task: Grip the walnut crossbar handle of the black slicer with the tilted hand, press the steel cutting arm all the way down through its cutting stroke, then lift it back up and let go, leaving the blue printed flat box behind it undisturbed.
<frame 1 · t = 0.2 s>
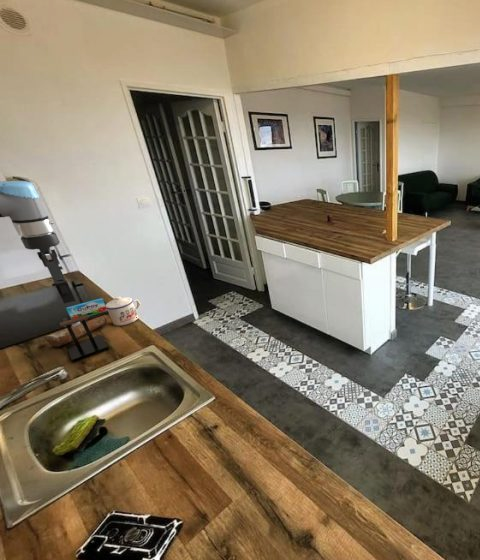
hand: (66, 295, 104), 25 cm above the countertop, tool pointing down, fingers open, 13 cm apart
blue printed flat box: (90, 315, 138), on the countertop
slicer: (88, 349, 117), on the countertop
slicer arm: (74, 321, 108), point 14 cm above the countertop, hinge at 26.0°
bread: (81, 335, 125), on the countertop
teacup with lid: (129, 319, 136), on the countertop
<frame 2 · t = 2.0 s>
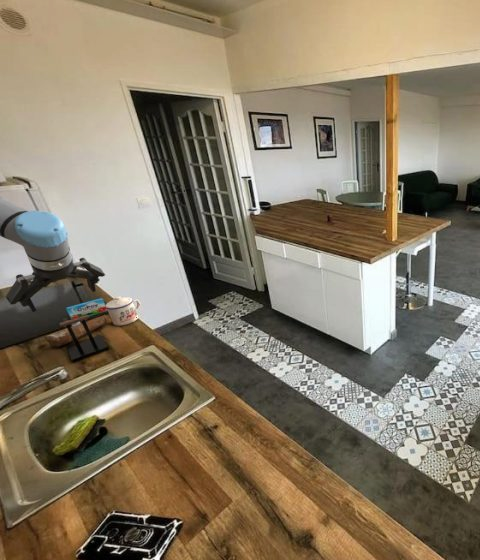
hand: (63, 297, 93), 29 cm above the countertop, tool tilted 40°, fingers open, 13 cm apart
nothing on the countertop moved.
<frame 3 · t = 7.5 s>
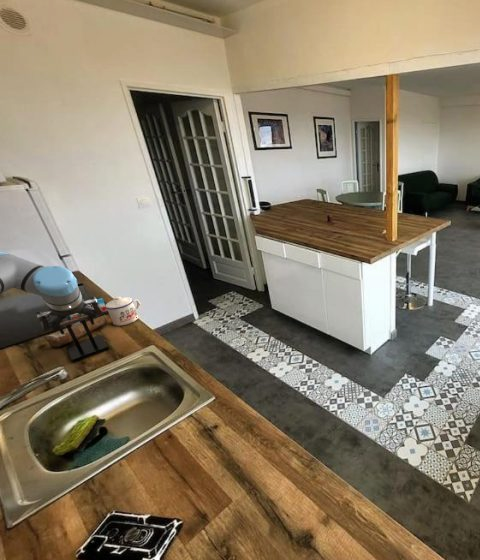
hand: (77, 325, 107), 13 cm above the countertop, tool tilted 45°, fingers closed on slicer arm, 7 cm apart
slicer arm: (74, 321, 108), point 14 cm above the countertop, hinge at 26.0°, touching gripper
everything else where it was.
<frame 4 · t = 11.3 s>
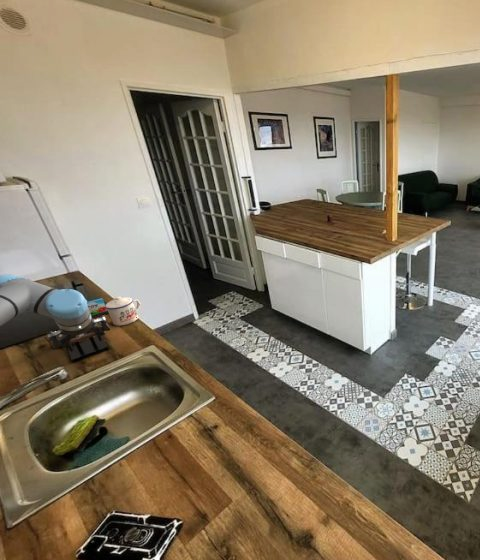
hand: (85, 342, 110), 6 cm above the countertop, tool tilted 45°, fingers closed on slicer arm, 7 cm apart
slicer arm: (78, 329, 109), point 11 cm above the countertop, hinge at -8.2°, touching gripper
everything else where it was.
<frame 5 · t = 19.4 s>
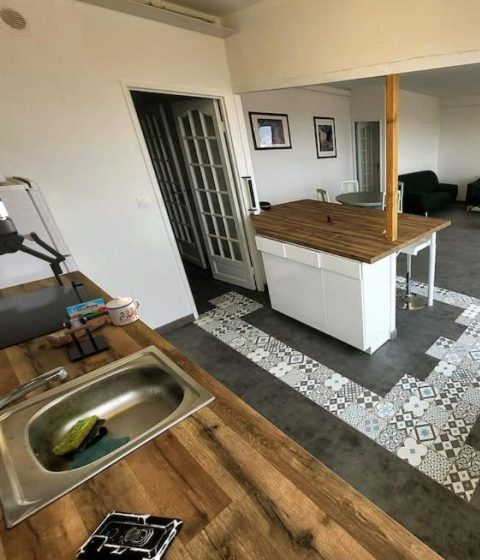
hand: (28, 292, 88), 33 cm above the countertop, tool pointing down, fingers open, 13 cm apart
slicer arm: (76, 325, 108), point 13 cm above the countertop, hinge at 10.5°
everything else where it was.
at the end: slicer arm reached -18° during the clip, +10° at the end; slicer arm at +10° (first picture: +26°); blue printed flat box moved 0.2 cm from its start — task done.
